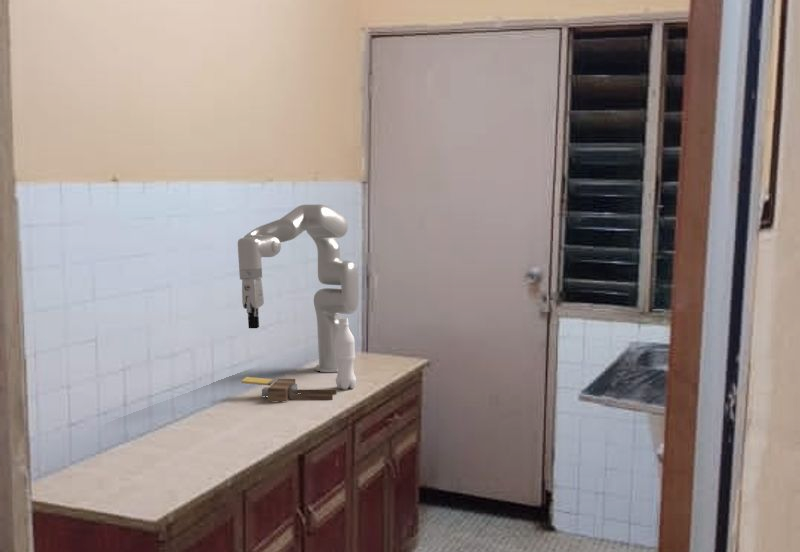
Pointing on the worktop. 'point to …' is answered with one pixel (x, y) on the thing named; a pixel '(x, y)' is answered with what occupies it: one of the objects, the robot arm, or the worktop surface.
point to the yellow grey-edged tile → (258, 381)
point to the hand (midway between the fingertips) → (253, 327)
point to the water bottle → (345, 355)
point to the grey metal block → (291, 390)
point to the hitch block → (281, 391)
